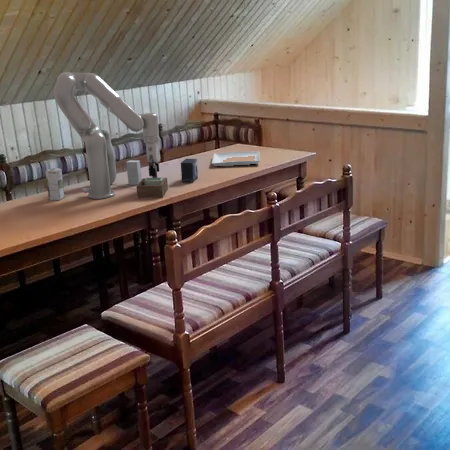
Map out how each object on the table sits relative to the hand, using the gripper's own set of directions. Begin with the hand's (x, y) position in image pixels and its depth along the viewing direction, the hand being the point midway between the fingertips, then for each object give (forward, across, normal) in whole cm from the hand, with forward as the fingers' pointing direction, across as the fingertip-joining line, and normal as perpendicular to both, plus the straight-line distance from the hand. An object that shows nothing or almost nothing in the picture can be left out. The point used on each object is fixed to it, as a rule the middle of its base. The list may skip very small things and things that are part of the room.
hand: (154, 173), depth 307 cm
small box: (+8, +17, -15) cm, 24 cm away
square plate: (+8, +58, -37) cm, 69 cm away
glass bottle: (+8, +15, +28) cm, 33 cm away
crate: (+7, -3, 0) cm, 8 cm away
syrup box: (+8, -12, +46) cm, 48 cm away
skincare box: (+8, +13, +13) cm, 20 cm away
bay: (+8, -8, 0) cm, 11 cm away
